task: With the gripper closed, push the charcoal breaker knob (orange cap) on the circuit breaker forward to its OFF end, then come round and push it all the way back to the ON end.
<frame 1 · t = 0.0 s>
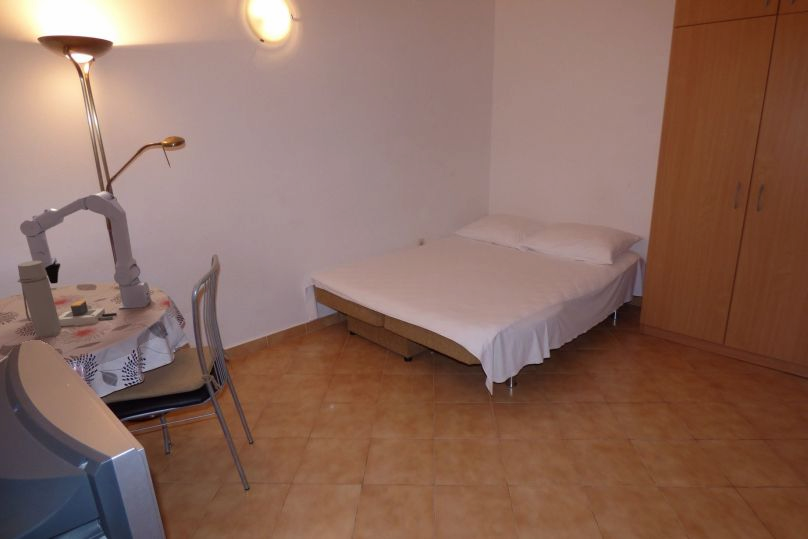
hand: (49, 286, 182), 10 cm above the table, fingers open, 7 cm apart
cord b: (105, 319, 175), on the table
breaker knob: (79, 308, 174), point 5 cm above the table, slide at 2.5 cm
water bottle: (46, 334, 164), on the table
circuit breaker: (81, 320, 175), on the table
cord a: (109, 316, 178), on the table
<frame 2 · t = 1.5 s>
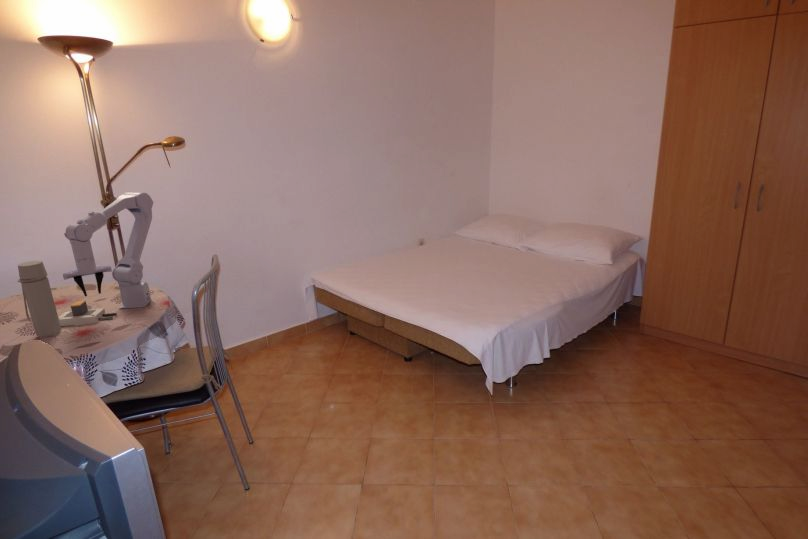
hand: (92, 294, 174), 9 cm above the table, fingers open, 4 cm apart
nothing on the table moved.
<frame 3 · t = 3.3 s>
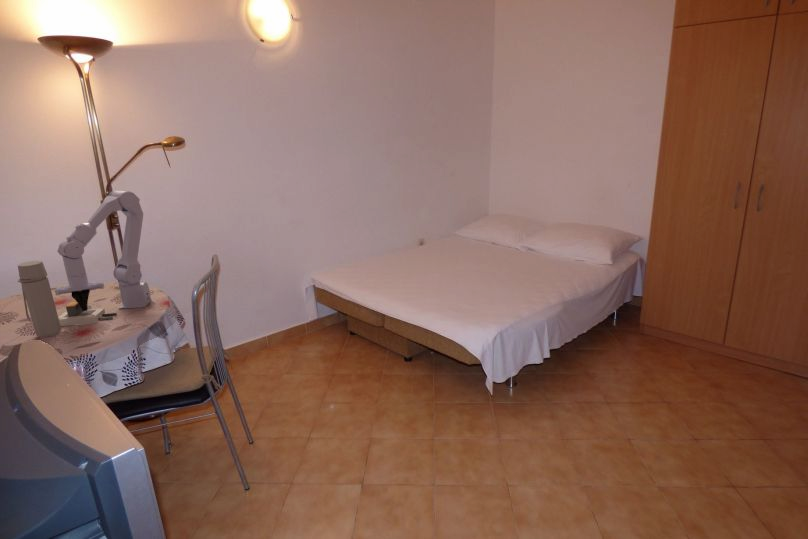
hand: (85, 310, 175), 4 cm above the table, fingers closed
breaker knob: (74, 308, 174), point 5 cm above the table, slide at 4.1 cm, touching gripper
everything else where it was.
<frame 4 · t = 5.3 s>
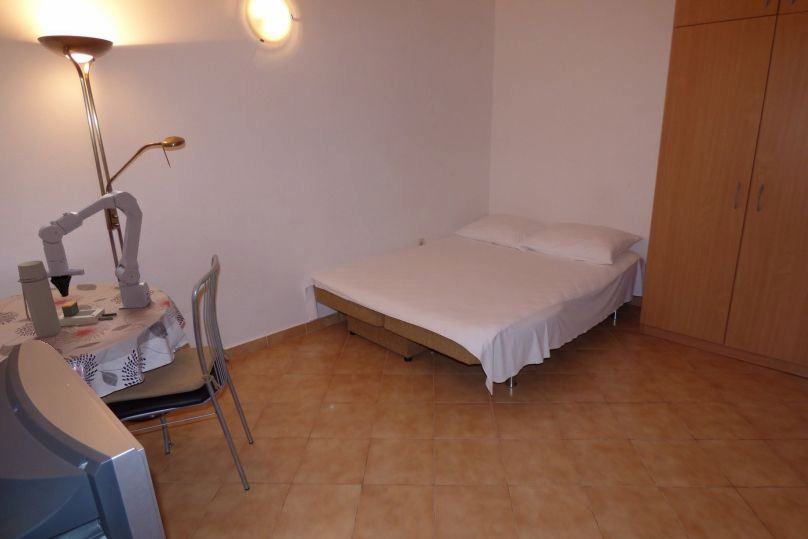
hand: (65, 296, 172), 10 cm above the table, fingers closed
breaker knob: (70, 308, 174), point 5 cm above the table, slide at 5.5 cm
everything else where it was.
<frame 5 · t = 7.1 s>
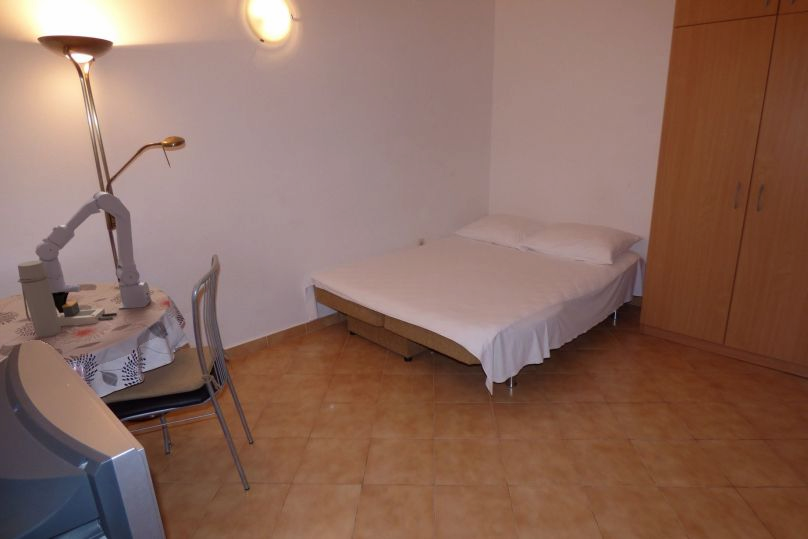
hand: (62, 312, 174), 4 cm above the table, fingers closed
breaker knob: (71, 308, 174), point 5 cm above the table, slide at 5.2 cm, touching gripper
everything else where it was.
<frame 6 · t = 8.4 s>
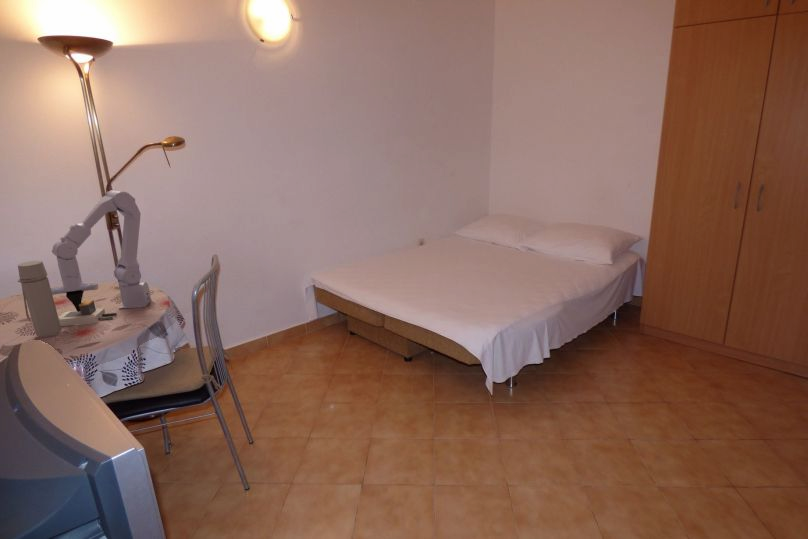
hand: (79, 310, 175), 4 cm above the table, fingers closed
breaker knob: (87, 307, 175), point 5 cm above the table, slide at -0.2 cm, touching gripper
everything else where it was.
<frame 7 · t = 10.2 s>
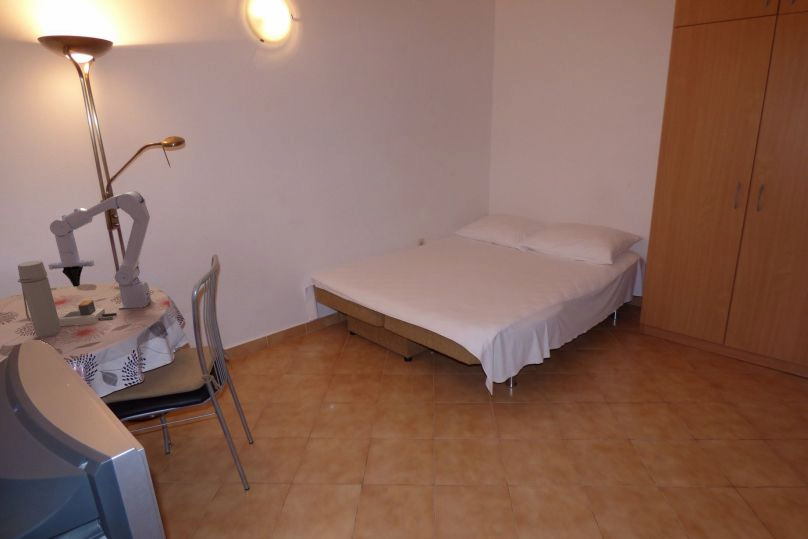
hand: (76, 285, 182), 10 cm above the table, fingers closed
breaker knob: (86, 307, 175), point 5 cm above the table, slide at 0.0 cm
everything else where it was.
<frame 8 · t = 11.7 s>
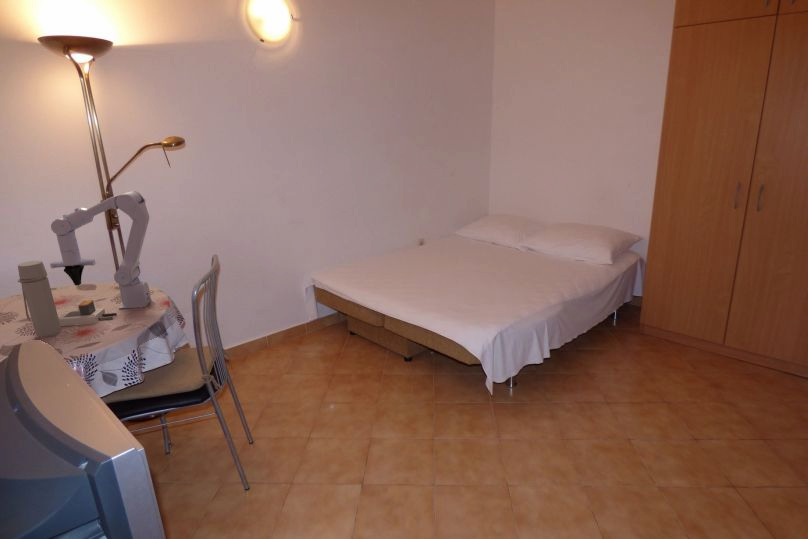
hand: (78, 284, 184), 10 cm above the table, fingers closed
nothing on the table moved.
at the end: breaker knob slide at 0.0 cm; breaker knob touching nothing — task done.
